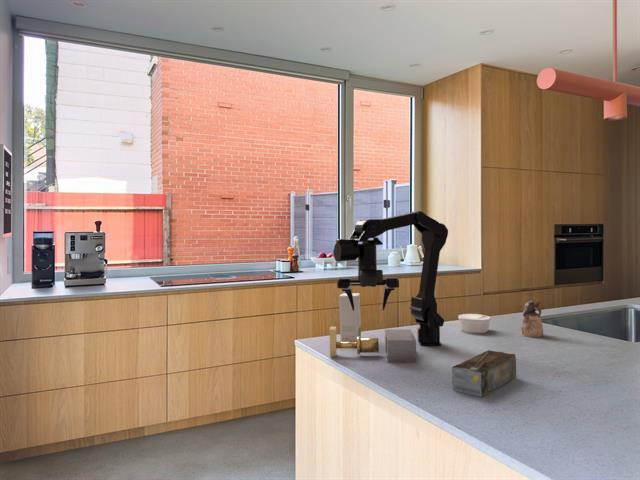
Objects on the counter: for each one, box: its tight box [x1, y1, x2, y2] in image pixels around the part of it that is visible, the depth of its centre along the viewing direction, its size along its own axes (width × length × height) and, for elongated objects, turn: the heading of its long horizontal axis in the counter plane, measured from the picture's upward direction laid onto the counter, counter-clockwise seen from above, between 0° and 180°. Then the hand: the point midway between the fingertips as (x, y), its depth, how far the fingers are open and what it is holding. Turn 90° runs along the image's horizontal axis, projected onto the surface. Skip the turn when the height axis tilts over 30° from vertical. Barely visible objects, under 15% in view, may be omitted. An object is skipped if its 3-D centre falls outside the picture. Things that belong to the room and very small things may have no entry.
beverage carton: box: [451, 349, 517, 398], centre depth 117 cm, size 8×19×7 cm, turn 135°
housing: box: [384, 328, 417, 364], centre depth 143 cm, size 8×14×6 cm, turn 176°
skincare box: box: [338, 292, 362, 342], centre depth 165 cm, size 8×7×16 cm
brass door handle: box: [329, 326, 380, 357], centre depth 144 cm, size 14×5×8 cm, turn 86°
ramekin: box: [457, 313, 492, 334], centre depth 175 cm, size 11×11×5 cm
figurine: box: [520, 300, 544, 338], centre depth 166 cm, size 7×7×12 cm
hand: (368, 310), depth 148 cm, fingers open, 9 cm apart
